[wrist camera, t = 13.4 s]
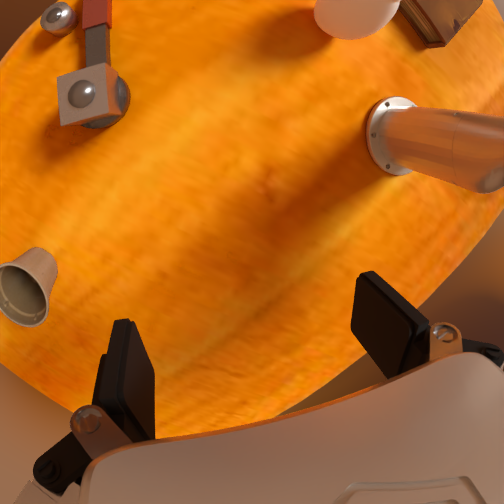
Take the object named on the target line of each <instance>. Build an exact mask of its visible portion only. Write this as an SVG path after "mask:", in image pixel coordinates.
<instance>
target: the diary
mask: <svg viewBox="0 0 504 504" xmlns="http://www.w3.org/2000/svg"><path fill="white" fill-rule="evenodd" d="M482 2H483V0H401V1H400V3H399V7H398V9H399V10H400V12H401V13H402V14H403V15H404V17H405V18H406V19H407V20H408V22H409V23H410V24H411V26H412V27H413V28H414V30H415V31H416V33H417V34H418V35H419V37H420V38H421V40H422V41H423V42H424V44H425V45H426V47H428V48H429V49H430V48H438V47H445V46H446V45H447V43H448V42H449V41H450V40H451V39H452V38H453V37H454V35H455V34H456V33H457V32H458V31H459V30H460V29H461V27H462V26H463V25H464V24H465V23H466V22H467V20H468V19H469V18H470V17H471V16H472V15H473V14H474V12H475V11H476V10H477V9H478V8H479V7H480V5H481V4H482Z"/></svg>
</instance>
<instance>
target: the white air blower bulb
mask: <svg viewBox="0 0 504 504" xmlns="http://www.w3.org/2000/svg"><path fill="white" fill-rule="evenodd" d="M400 1H401V0H317V2H316V4H315V7H314V19H315V21H316V23H317V25H318V26H319V27H320V28H321V29H322V30H323V31H324V32H326V33H327V34H329V35H331V36H333V37H336V38H339V39H346V40H353V39H360V38H364V37H366V36H369V35H371V34H373V33H375V32H377V31H378V30H380V29H381V28H382V27H384V26H385V25H386V24H387V23H388V22H389V21H390V20H391V19H392V17H393V16H394V15H395V13H396V11H397V9H398V7H399V3H400Z"/></svg>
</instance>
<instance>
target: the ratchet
mask: <svg viewBox="0 0 504 504" xmlns="http://www.w3.org/2000/svg"><path fill="white" fill-rule="evenodd" d="M109 28H112V0H83V17H82V29H83V30H84V31H85V42H86V68H87V67H90V66H94V65H97V64H101V63H106V64H108V65H109V66H110V67H111V60H110V34H109ZM118 83H119V95H120V106H121V115H117V116H113V117H109V118H105V119H101V120H97V121H93V122H90V123H86V124H82V126H84V127H86V128H92V129H94V128H105V127H109V126H112V125H114V124H115V123H117V122H118V121H119V120H120V119H121V118H122V117H123V116H124V115H125V113H126V112H127V110H128V107H129V104H130V90H129V87H128V85H127V84H126V82H125V81H124V80H123V79H122V78H120V77H119V76H118Z"/></svg>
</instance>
